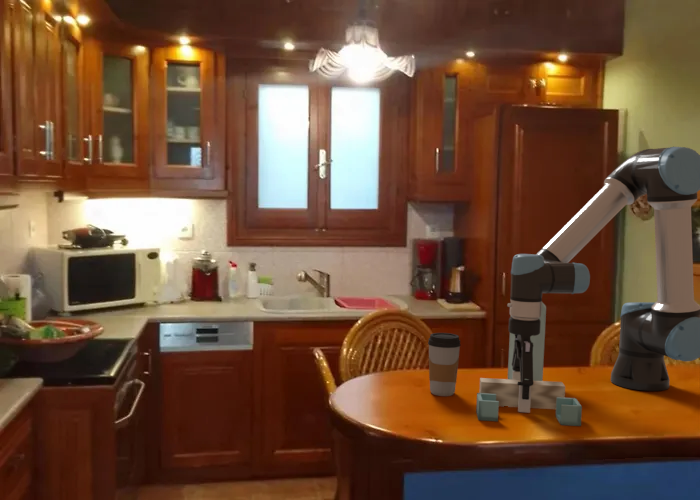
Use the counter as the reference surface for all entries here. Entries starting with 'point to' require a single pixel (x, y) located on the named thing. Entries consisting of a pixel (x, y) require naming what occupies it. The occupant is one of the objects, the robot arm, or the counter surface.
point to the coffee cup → (443, 363)
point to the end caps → (565, 409)
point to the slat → (509, 392)
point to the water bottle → (537, 350)
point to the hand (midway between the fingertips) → (520, 404)
